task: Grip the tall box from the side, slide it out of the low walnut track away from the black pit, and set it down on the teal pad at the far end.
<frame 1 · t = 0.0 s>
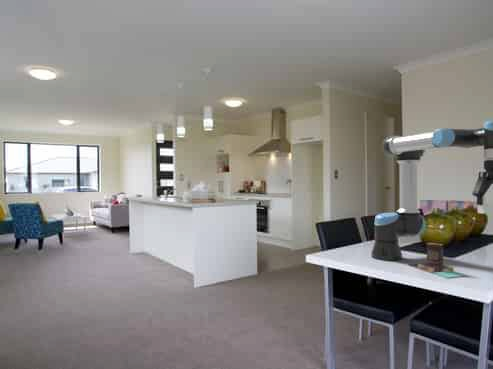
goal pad: (450, 274, 148), on the table
trap track: (435, 269, 156), on the table
box: (435, 270, 156), on the table
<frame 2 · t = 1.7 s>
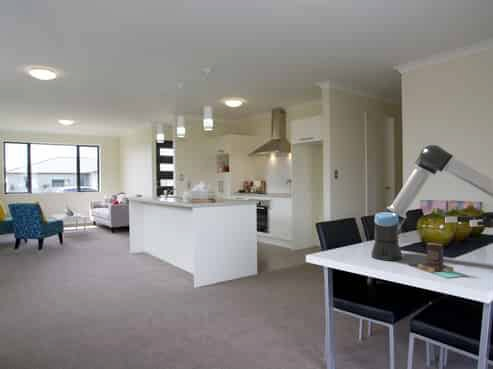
hand: (457, 221, 159), 22 cm above the table, tool horizontal, fingers open, 13 cm apart
nothing on the table moved.
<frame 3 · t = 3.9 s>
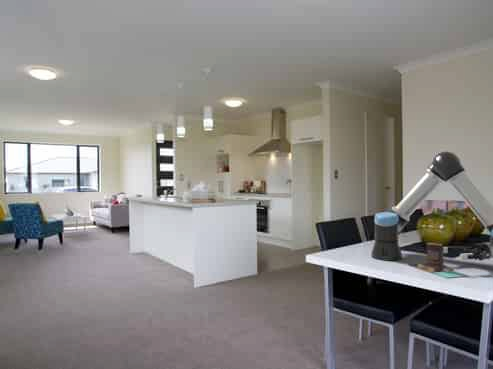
hand: (447, 253, 157), 7 cm above the table, tool horizontal, fingers open, 13 cm apart
nothing on the table moved.
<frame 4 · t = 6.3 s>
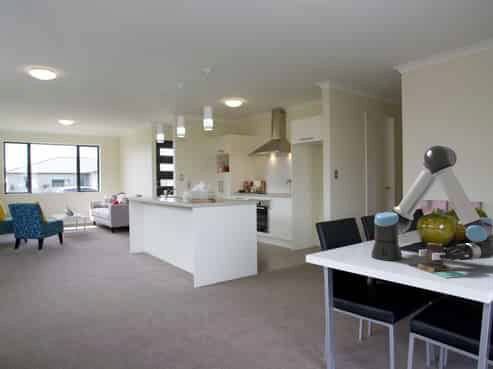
hand: (426, 254, 155), 7 cm above the table, tool horizontal, fingers closed on box, 7 cm apart
box: (435, 270, 156), on the table, touching gripper
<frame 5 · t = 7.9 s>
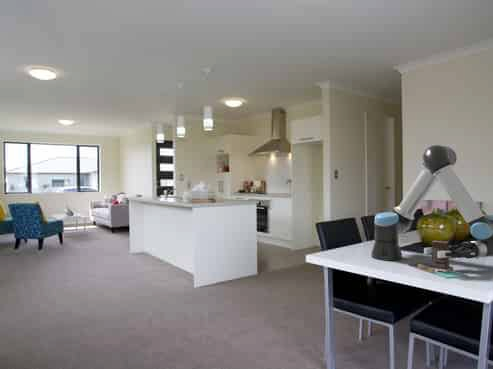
hand: (431, 252, 152), 9 cm above the table, tool horizontal, fingers closed on box, 7 cm apart
box: (440, 268, 154), point 1 cm above the table, touching gripper
when the fingers open (9 cm above the table, at t = 9.5 s): box moves 1 cm, resting on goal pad.
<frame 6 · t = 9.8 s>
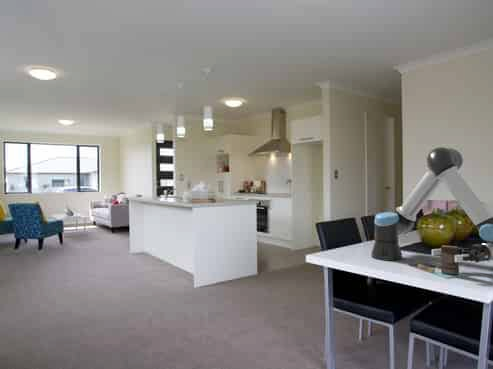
hand: (443, 255, 147), 9 cm above the table, tool horizontal, fingers open, 11 cm apart
box: (450, 274, 148), resting on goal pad
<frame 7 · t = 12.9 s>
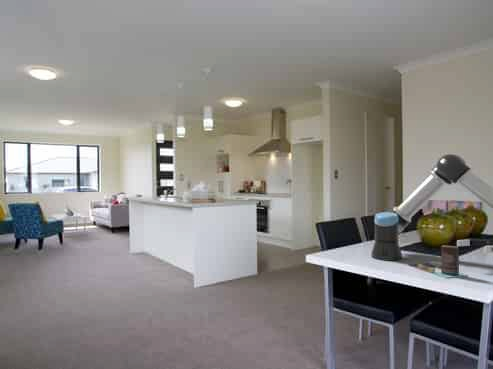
hand: (470, 246, 150), 12 cm above the table, tool horizontal, fingers open, 13 cm apart
nothing on the table moved.
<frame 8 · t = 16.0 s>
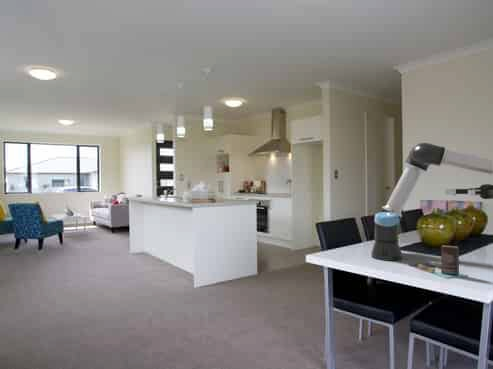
hand: (456, 192, 165), 35 cm above the table, tool horizontal, fingers open, 13 cm apart
nothing on the table moved.
at the end: box inside the target area (0.5 cm from its centre), resting on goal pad; box tilted 0°; box touching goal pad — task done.
